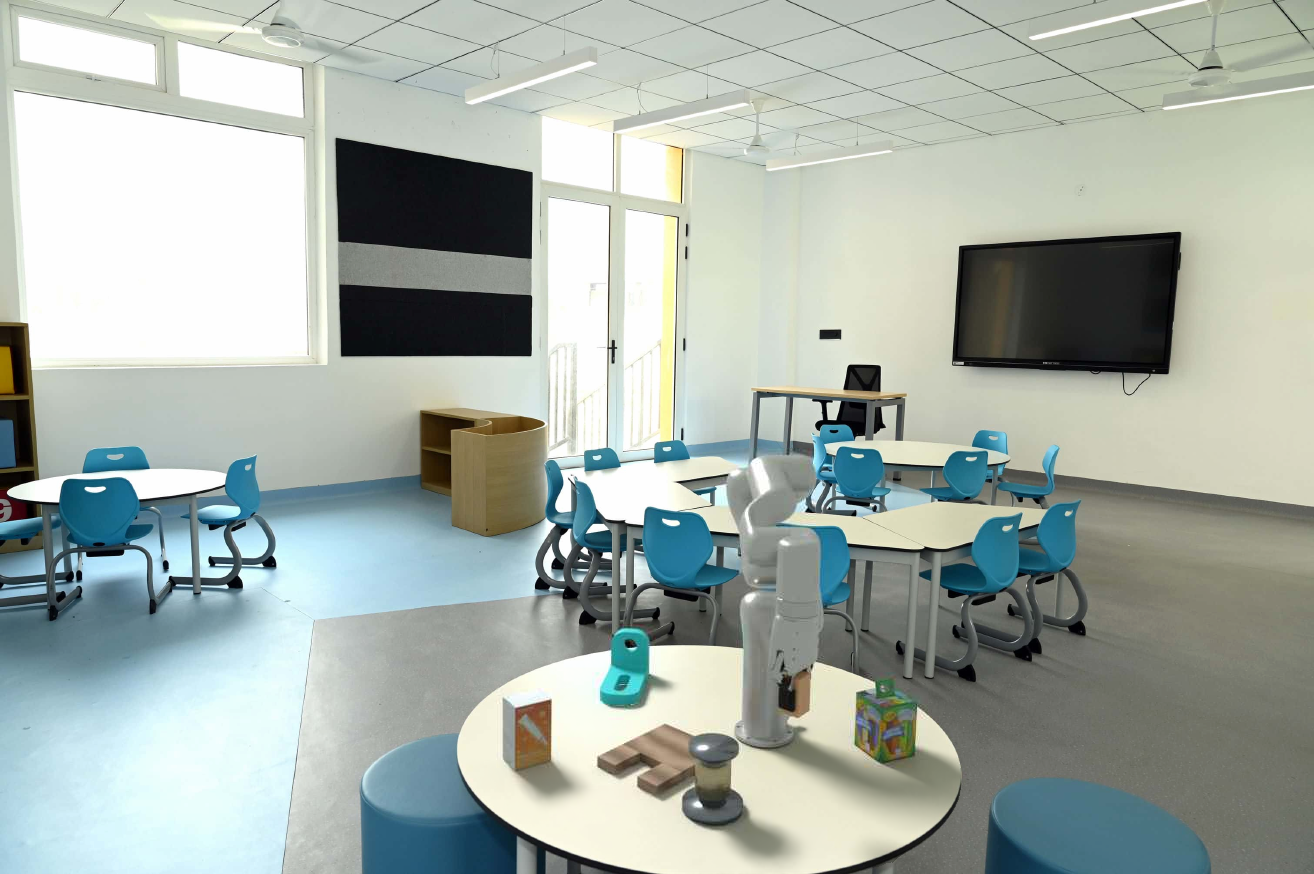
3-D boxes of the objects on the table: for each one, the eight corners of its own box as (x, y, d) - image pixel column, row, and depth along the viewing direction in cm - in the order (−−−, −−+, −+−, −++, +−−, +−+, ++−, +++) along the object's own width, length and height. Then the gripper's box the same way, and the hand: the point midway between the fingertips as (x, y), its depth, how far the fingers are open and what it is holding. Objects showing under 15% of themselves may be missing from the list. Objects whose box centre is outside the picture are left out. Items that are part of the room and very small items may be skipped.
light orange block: (790, 704, 149) (791, 667, 148) (809, 710, 147) (810, 673, 146) (778, 711, 146) (779, 674, 145) (798, 718, 144) (799, 680, 143)
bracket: (612, 671, 209) (613, 627, 208) (649, 674, 208) (649, 629, 207) (597, 704, 190) (597, 656, 188) (636, 707, 188) (637, 658, 187)
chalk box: (880, 764, 163) (883, 693, 162) (852, 744, 172) (854, 676, 170) (917, 755, 167) (920, 686, 165) (887, 736, 175) (890, 669, 174)
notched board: (665, 732, 176) (665, 723, 176) (723, 757, 165) (723, 748, 165) (597, 765, 161) (597, 756, 161) (656, 796, 150) (656, 785, 150)
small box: (514, 771, 158) (514, 707, 157) (502, 758, 164) (501, 696, 162) (552, 760, 163) (552, 698, 162) (538, 748, 168) (538, 687, 167)
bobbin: (708, 785, 154) (709, 724, 153) (755, 807, 147) (757, 744, 146) (669, 808, 146) (670, 744, 145) (717, 833, 139) (718, 766, 138)
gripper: (802, 591, 153) (799, 684, 155) (752, 613, 140) (749, 714, 143) (838, 600, 148) (835, 696, 150) (790, 623, 135) (786, 728, 138)
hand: (793, 704), depth 146 cm, fingers closed on light orange block, 4 cm apart
